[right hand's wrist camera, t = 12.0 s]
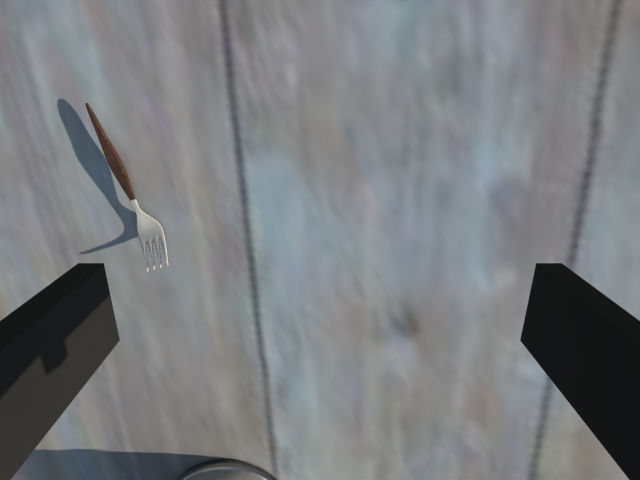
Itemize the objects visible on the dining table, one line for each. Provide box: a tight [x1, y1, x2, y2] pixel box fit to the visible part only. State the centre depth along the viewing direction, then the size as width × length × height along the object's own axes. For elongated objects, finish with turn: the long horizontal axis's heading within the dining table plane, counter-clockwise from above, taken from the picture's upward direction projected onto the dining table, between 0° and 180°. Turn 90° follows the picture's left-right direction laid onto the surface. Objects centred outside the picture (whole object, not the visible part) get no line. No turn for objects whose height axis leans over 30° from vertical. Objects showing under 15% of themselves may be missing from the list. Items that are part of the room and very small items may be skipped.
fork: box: [86, 103, 168, 272], centre depth 38 cm, size 3×16×2 cm, turn 17°
